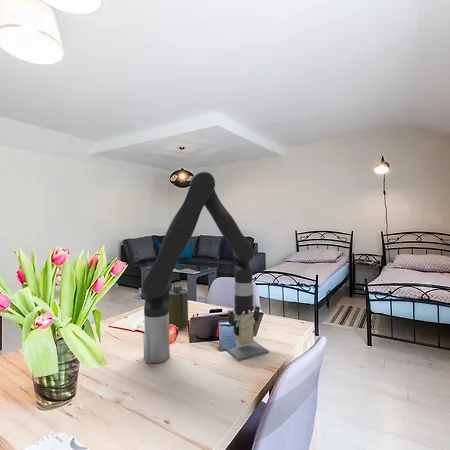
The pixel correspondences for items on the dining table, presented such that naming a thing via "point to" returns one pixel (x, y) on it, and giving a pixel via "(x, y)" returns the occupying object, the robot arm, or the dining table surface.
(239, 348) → the mat
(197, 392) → the dining table surface
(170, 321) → the canister
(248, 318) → the skincare box
